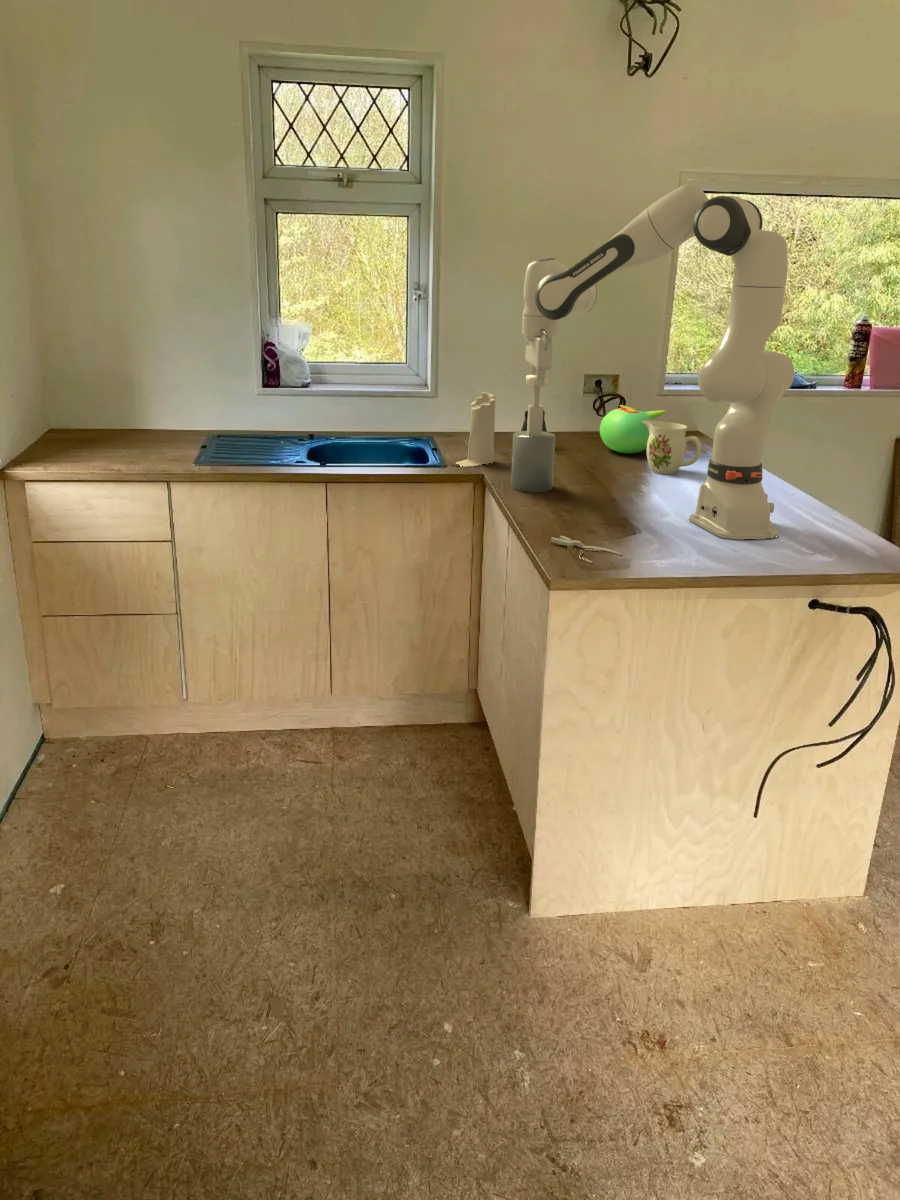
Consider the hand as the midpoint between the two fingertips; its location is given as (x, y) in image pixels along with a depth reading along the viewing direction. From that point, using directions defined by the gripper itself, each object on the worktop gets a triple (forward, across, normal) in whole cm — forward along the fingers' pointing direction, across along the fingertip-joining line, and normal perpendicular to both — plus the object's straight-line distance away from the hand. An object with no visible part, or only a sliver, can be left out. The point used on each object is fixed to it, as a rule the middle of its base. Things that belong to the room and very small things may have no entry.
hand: (536, 383), depth 237 cm
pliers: (+28, -53, -2) cm, 60 cm away
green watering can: (+27, +43, -37) cm, 63 cm away
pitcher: (+27, +17, -42) cm, 53 cm away
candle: (+27, +28, +13) cm, 41 cm away
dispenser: (+27, 0, 0) cm, 27 cm away
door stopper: (+27, +50, -8) cm, 58 cm away
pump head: (+7, 0, 0) cm, 7 cm away
